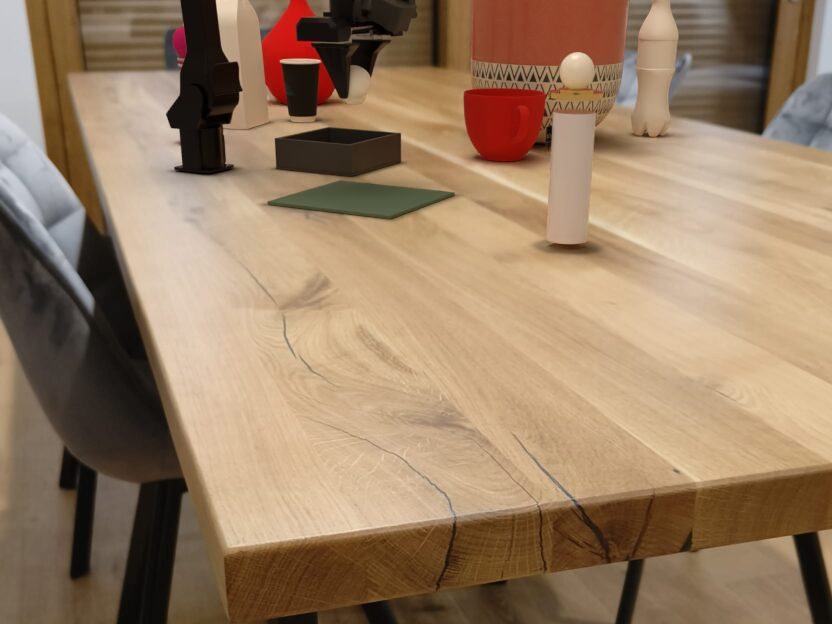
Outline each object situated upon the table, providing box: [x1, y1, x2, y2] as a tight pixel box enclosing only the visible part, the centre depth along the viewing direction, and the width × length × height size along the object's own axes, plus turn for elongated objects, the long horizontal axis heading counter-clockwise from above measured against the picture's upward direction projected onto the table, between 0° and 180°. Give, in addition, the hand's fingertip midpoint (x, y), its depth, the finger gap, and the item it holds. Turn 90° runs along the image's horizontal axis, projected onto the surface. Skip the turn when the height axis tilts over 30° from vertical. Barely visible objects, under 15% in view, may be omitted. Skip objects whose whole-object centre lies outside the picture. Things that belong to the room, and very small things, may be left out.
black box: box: [274, 126, 402, 177], centre depth 170 cm, size 15×13×4 cm
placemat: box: [267, 179, 456, 220], centre depth 146 cm, size 18×18×1 cm
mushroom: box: [343, 65, 372, 106], centre depth 150 cm, size 5×5×5 cm
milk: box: [216, 0, 270, 130], centre depth 206 cm, size 12×12×26 cm
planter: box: [470, 0, 630, 144], centre depth 191 cm, size 27×27×27 cm
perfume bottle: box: [544, 52, 603, 245], centre depth 119 cm, size 6×6×20 cm
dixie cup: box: [280, 59, 321, 123], centre depth 215 cm, size 8×8×11 cm
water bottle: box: [630, 0, 680, 138], centre depth 200 cm, size 7×7×25 cm
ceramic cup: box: [463, 88, 546, 162], centre depth 175 cm, size 13×17×10 cm
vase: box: [261, 0, 336, 105], centre depth 239 cm, size 18×18×30 cm
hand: (353, 96), depth 150 cm, fingers closed on mushroom, 5 cm apart
